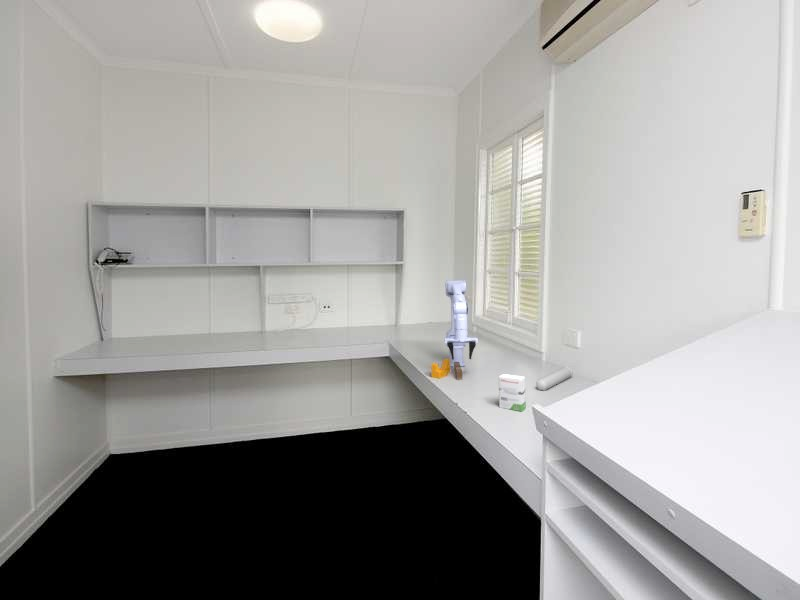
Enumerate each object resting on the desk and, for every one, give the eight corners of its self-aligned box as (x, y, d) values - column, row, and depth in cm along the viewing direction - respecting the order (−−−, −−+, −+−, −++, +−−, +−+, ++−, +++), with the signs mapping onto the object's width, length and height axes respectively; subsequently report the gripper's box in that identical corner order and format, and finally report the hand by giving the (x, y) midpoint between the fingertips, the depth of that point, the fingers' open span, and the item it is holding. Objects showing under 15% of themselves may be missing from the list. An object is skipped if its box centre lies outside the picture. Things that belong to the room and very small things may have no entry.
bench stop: (454, 369, 200) (454, 361, 199) (459, 369, 199) (458, 361, 199) (457, 379, 184) (456, 371, 183) (462, 379, 184) (462, 370, 183)
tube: (547, 383, 162) (574, 369, 179) (535, 377, 165) (563, 364, 182) (543, 395, 164) (570, 380, 181) (531, 388, 167) (559, 374, 184)
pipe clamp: (439, 379, 186) (439, 365, 185) (431, 377, 189) (431, 364, 188) (453, 372, 195) (452, 359, 195) (445, 371, 198) (445, 358, 197)
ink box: (526, 407, 147) (526, 376, 146) (521, 412, 143) (521, 379, 142) (503, 403, 153) (503, 372, 151) (498, 407, 149) (498, 376, 147)
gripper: (445, 330, 176) (445, 361, 177) (478, 329, 175) (479, 360, 176) (444, 327, 183) (444, 357, 184) (476, 327, 182) (476, 356, 183)
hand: (461, 358), depth 181 cm, fingers open, 7 cm apart
